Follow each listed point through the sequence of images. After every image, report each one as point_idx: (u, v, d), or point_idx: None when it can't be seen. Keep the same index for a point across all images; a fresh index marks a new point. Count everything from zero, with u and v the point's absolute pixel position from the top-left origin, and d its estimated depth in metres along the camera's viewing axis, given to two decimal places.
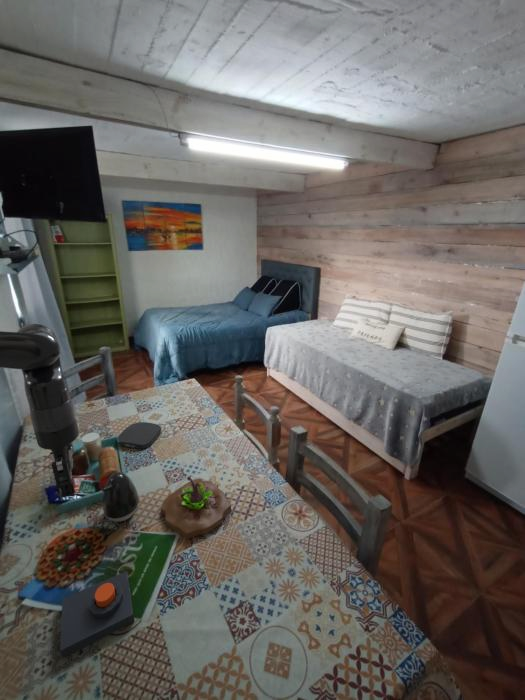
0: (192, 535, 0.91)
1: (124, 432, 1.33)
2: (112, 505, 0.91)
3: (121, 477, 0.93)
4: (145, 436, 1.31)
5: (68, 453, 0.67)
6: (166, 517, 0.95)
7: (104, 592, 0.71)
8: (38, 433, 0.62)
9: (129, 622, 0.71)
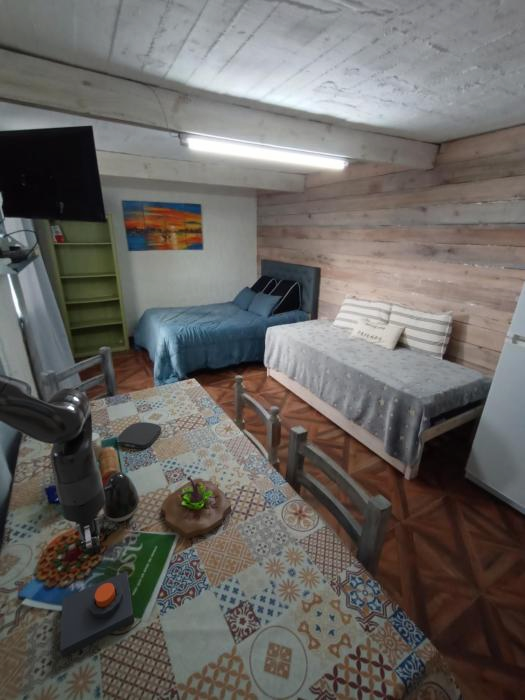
0: (192, 535, 0.91)
1: (124, 432, 1.33)
2: (112, 505, 0.91)
3: (121, 477, 0.93)
4: (145, 436, 1.31)
5: (95, 523, 0.63)
6: (166, 517, 0.95)
7: (104, 592, 0.71)
8: (64, 506, 0.58)
9: (129, 622, 0.71)
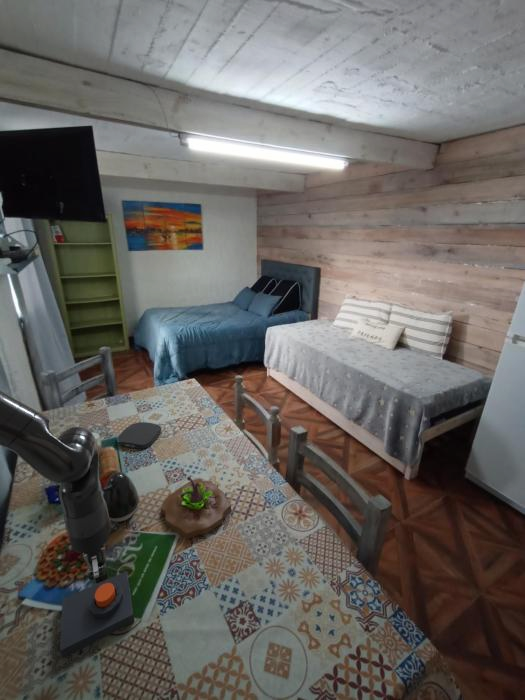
0: (192, 535, 0.91)
1: (124, 432, 1.33)
2: (112, 505, 0.91)
3: (121, 477, 0.93)
4: (145, 436, 1.31)
5: (102, 553, 0.66)
6: (166, 517, 0.95)
7: (104, 592, 0.71)
8: (73, 539, 0.61)
9: (129, 622, 0.71)
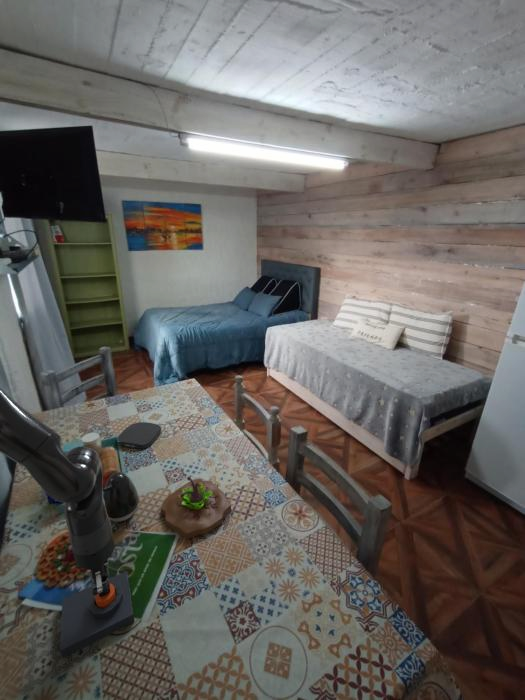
0: (192, 535, 0.91)
1: (124, 432, 1.33)
2: (112, 505, 0.91)
3: (121, 477, 0.93)
4: (145, 436, 1.31)
5: (105, 568, 0.67)
6: (166, 517, 0.95)
7: None
8: (77, 555, 0.62)
9: (129, 622, 0.71)
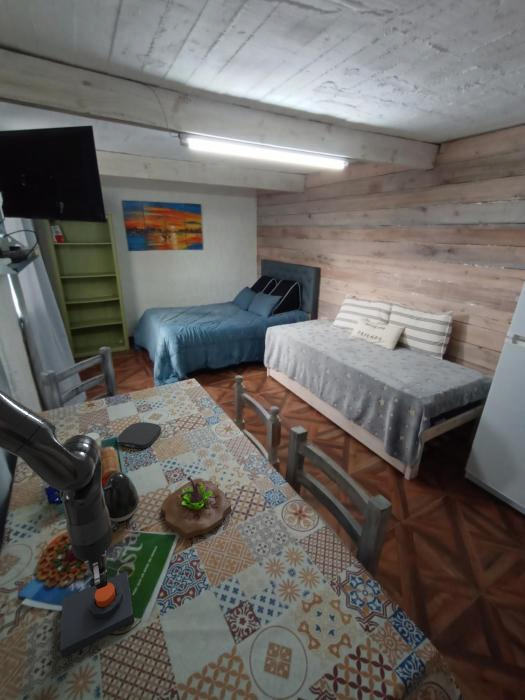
0: (192, 535, 0.91)
1: (124, 432, 1.33)
2: (112, 505, 0.91)
3: (121, 477, 0.93)
4: (145, 436, 1.31)
5: (103, 559, 0.66)
6: (166, 517, 0.95)
7: (104, 592, 0.71)
8: (75, 545, 0.61)
9: (129, 622, 0.71)
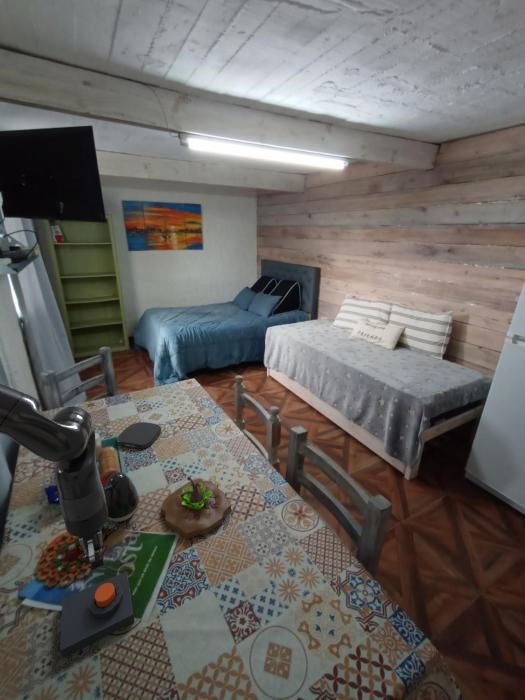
0: (192, 535, 0.91)
1: (124, 432, 1.33)
2: (112, 505, 0.91)
3: (121, 477, 0.93)
4: (145, 436, 1.31)
5: (98, 537, 0.64)
6: (166, 517, 0.95)
7: (104, 592, 0.71)
8: (68, 521, 0.59)
9: (129, 622, 0.71)
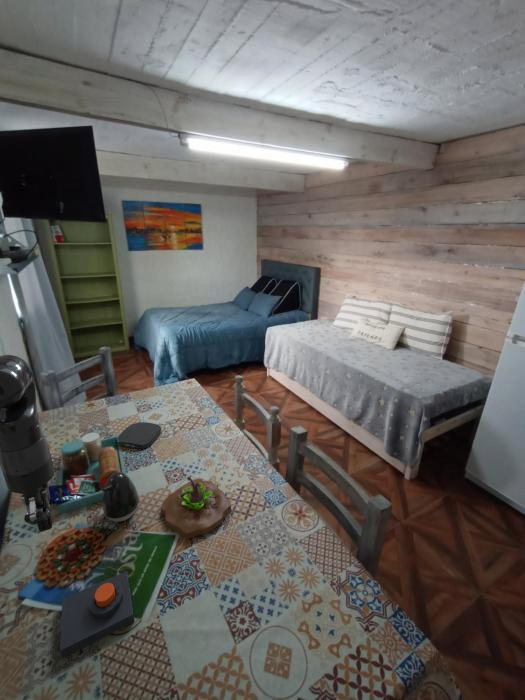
0: (192, 535, 0.91)
1: (124, 432, 1.33)
2: (112, 505, 0.91)
3: (121, 477, 0.93)
4: (145, 436, 1.31)
5: (43, 496, 0.61)
6: (166, 517, 0.95)
7: (104, 592, 0.71)
8: (6, 476, 0.56)
9: (129, 622, 0.71)
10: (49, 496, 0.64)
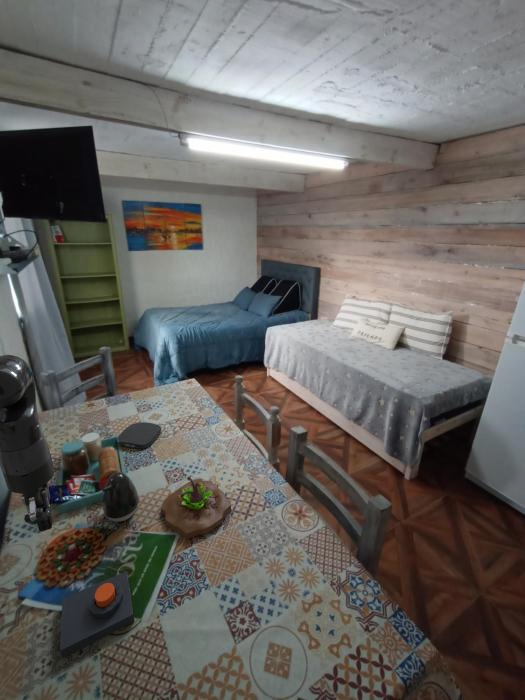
0: (192, 535, 0.91)
1: (124, 432, 1.33)
2: (112, 505, 0.91)
3: (121, 477, 0.93)
4: (145, 436, 1.31)
5: (43, 496, 0.61)
6: (166, 517, 0.95)
7: (104, 592, 0.71)
8: (6, 476, 0.56)
9: (129, 622, 0.71)
10: (49, 496, 0.64)
